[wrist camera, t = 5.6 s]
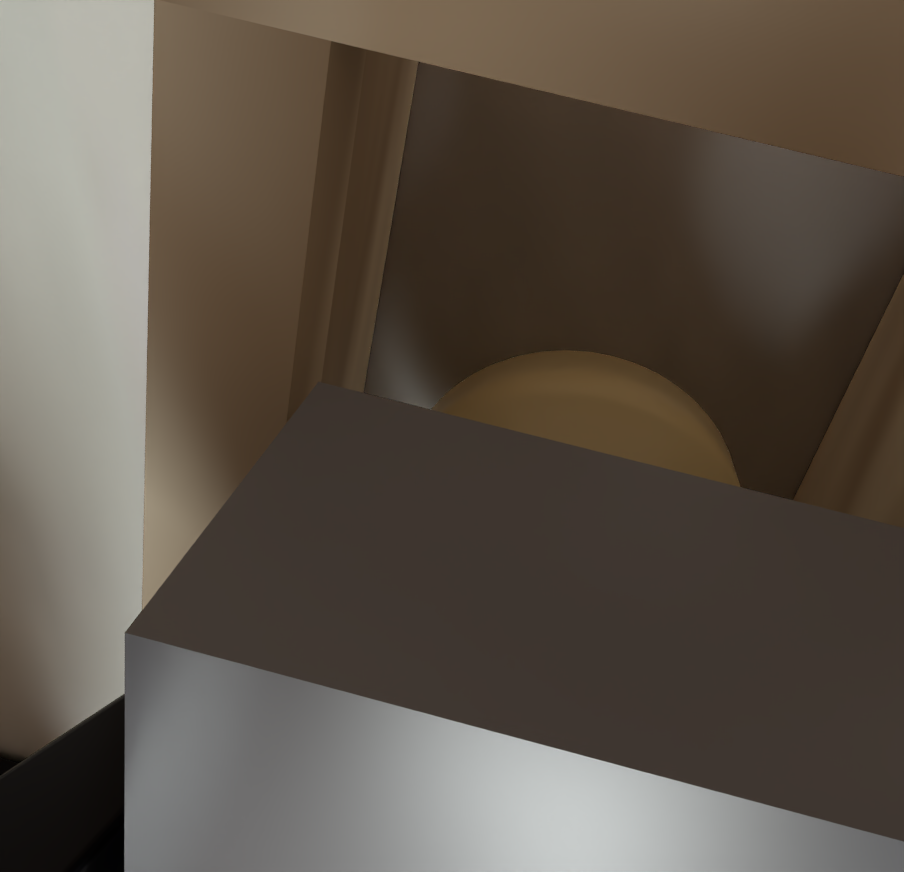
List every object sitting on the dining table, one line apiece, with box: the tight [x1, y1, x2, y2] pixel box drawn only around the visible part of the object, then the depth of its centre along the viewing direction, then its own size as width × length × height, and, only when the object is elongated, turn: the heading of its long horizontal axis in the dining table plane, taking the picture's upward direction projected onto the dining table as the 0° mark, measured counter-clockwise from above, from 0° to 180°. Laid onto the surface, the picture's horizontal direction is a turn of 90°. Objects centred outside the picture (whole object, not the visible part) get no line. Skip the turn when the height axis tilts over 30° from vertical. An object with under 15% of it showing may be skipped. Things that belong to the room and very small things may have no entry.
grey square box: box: [124, 350, 904, 872], centre depth 9 cm, size 6×6×7 cm
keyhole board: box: [142, 0, 904, 610], centre depth 12 cm, size 10×16×6 cm, turn 168°
